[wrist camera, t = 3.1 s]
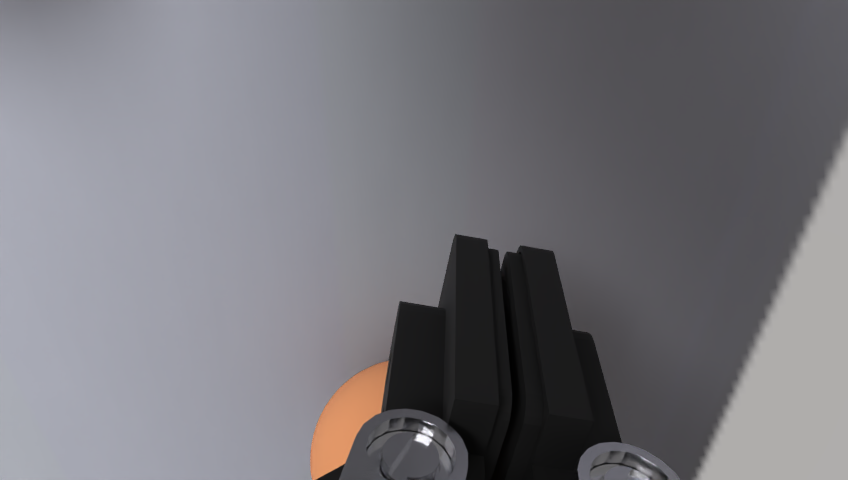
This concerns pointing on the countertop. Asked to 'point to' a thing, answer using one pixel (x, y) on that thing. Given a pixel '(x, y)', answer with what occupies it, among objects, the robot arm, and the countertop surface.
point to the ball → (346, 418)
